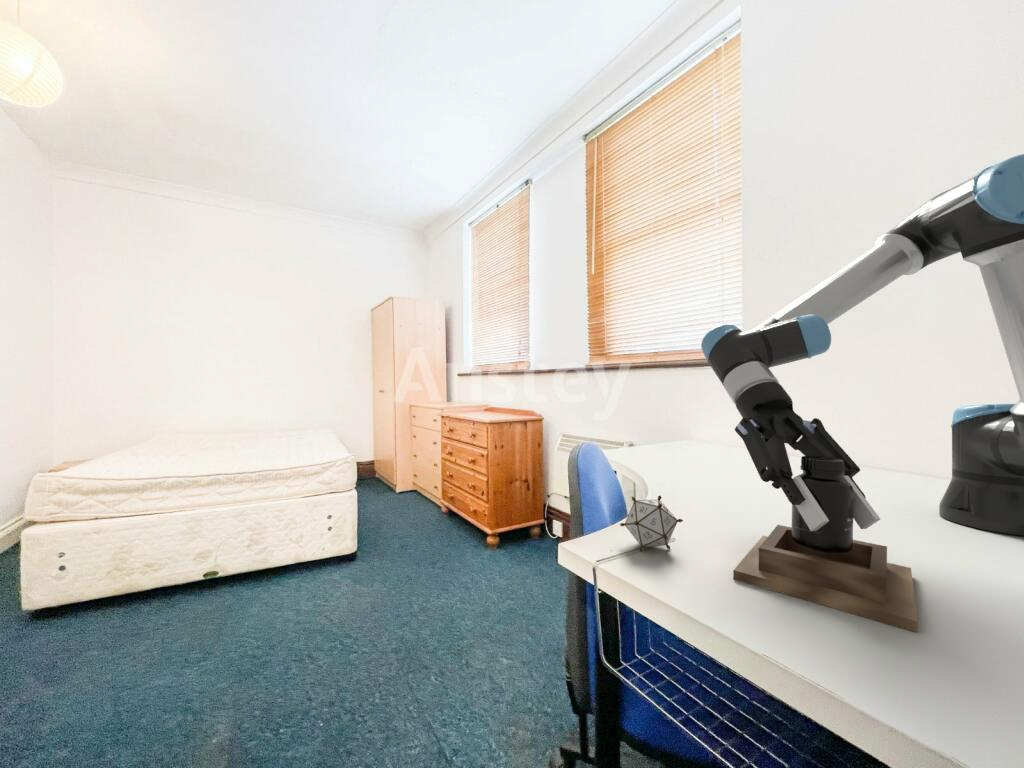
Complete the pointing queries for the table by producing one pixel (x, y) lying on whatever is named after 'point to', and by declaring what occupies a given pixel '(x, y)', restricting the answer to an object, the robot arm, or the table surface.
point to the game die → (650, 523)
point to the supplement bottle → (826, 506)
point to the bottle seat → (833, 577)
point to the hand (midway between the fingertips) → (845, 524)
